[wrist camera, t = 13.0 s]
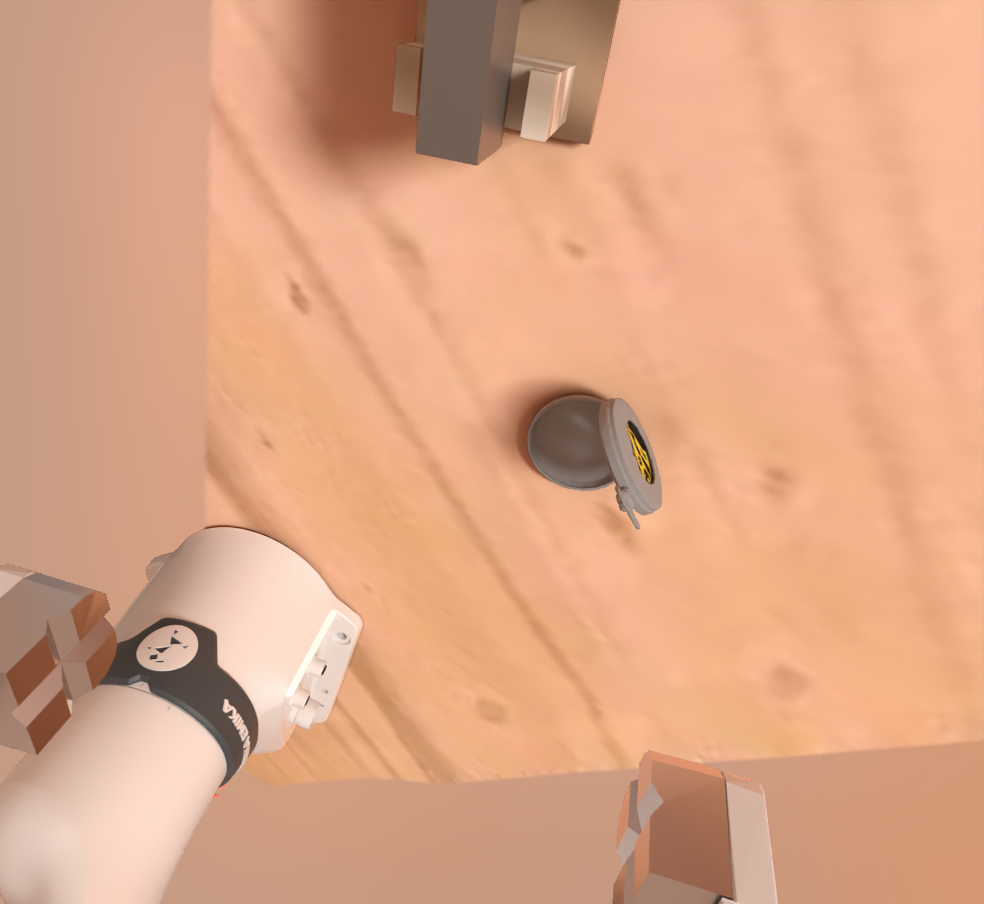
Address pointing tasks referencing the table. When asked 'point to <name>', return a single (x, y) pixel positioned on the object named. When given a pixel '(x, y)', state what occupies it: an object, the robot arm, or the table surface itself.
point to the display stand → (537, 68)
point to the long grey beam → (466, 77)
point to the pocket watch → (596, 450)
